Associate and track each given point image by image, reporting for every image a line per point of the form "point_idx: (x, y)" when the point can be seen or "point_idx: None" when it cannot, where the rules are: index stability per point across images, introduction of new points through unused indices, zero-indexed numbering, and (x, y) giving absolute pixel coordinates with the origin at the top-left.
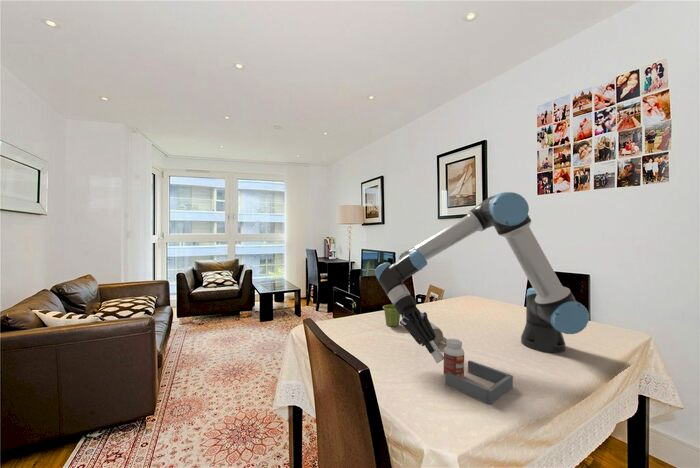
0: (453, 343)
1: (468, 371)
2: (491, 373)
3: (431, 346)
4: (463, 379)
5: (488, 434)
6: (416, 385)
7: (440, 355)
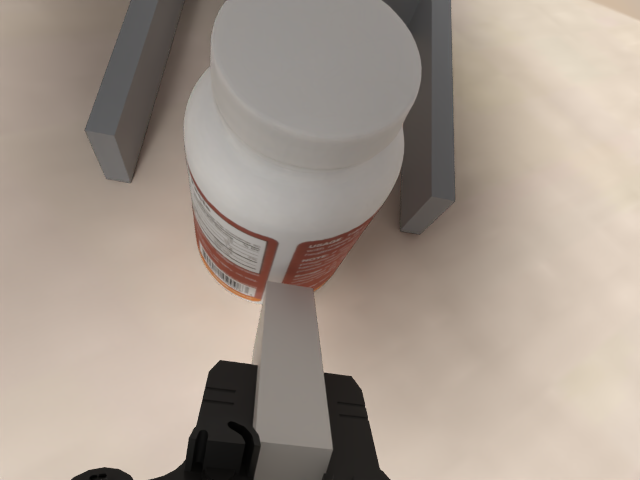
0: (408, 33)
1: (130, 177)
2: (166, 8)
3: (329, 418)
4: (442, 88)
5: (593, 6)
6: (566, 368)
7: (301, 306)
